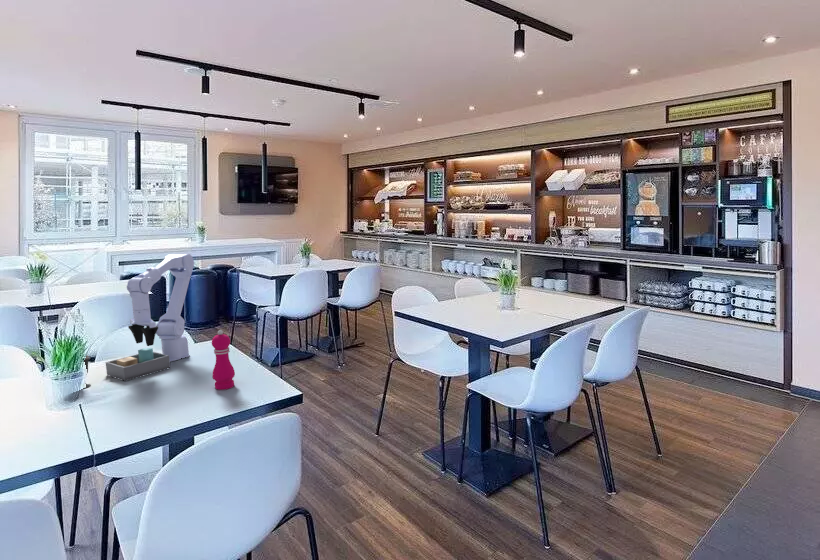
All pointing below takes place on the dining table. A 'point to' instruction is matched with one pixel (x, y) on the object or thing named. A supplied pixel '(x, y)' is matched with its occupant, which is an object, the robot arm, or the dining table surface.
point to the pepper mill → (222, 362)
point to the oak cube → (127, 361)
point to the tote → (138, 367)
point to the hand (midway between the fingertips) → (144, 344)
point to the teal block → (145, 354)
